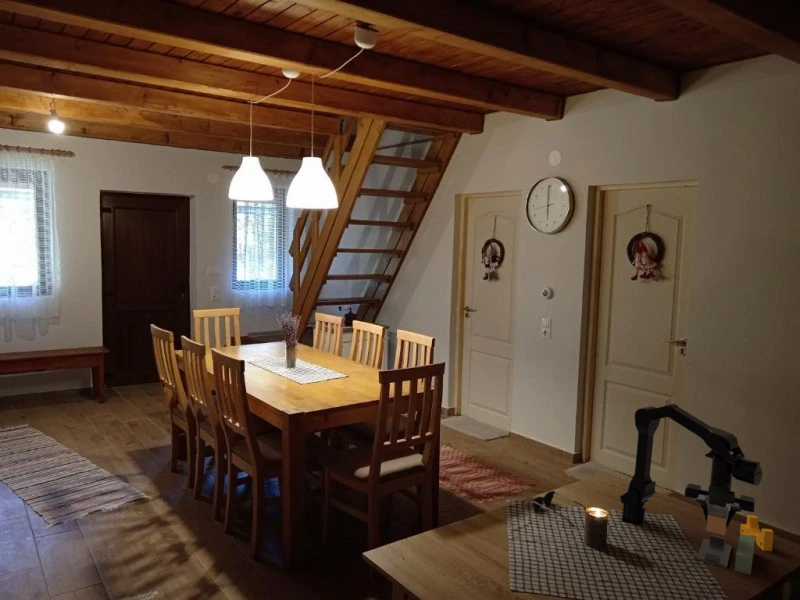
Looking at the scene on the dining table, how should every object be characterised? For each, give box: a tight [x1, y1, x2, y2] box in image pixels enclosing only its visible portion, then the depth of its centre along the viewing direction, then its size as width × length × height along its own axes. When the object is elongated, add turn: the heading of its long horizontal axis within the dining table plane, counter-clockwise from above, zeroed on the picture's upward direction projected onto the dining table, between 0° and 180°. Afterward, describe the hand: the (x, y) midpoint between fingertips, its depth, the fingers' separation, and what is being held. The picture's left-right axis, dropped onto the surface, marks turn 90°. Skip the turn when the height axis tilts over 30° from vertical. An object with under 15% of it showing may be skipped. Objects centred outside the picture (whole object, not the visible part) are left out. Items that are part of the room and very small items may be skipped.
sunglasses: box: [531, 490, 587, 528], centre depth 212 cm, size 14×16×5 cm
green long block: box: [734, 533, 756, 576], centre depth 184 cm, size 4×16×5 cm, turn 147°
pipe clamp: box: [739, 514, 775, 552], centre depth 198 cm, size 12×4×6 cm, turn 174°
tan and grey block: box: [705, 504, 729, 536], centre depth 188 cm, size 5×9×6 cm, turn 149°
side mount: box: [696, 534, 733, 569], centre depth 188 cm, size 8×16×3 cm, turn 147°
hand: (716, 524), depth 188 cm, fingers closed on tan and grey block, 5 cm apart
